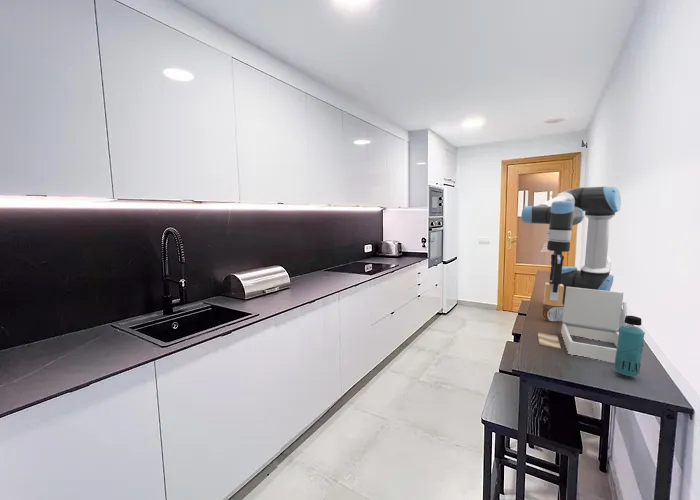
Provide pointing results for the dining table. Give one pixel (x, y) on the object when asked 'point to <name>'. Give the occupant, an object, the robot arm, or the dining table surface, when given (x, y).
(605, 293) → the equipment case
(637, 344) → the beverage bottle
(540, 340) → the metal plate
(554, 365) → the dining table surface
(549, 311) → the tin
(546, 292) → the tan and grey block
